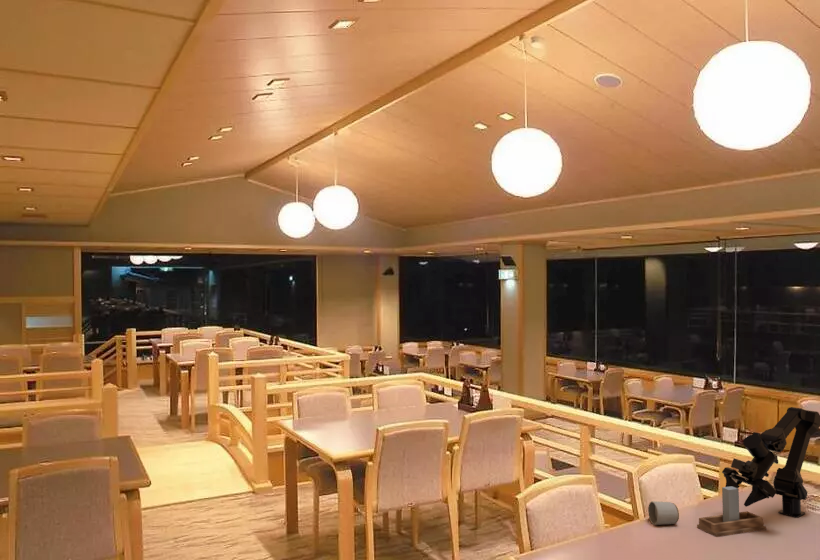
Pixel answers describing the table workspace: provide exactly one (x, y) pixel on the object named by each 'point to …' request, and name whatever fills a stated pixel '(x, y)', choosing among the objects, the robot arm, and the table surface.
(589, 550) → the table surface
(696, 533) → the table surface
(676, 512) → the ceramic mug
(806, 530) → the table surface
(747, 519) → the open rectangular wooden box
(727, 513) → the tall grey pillar block
